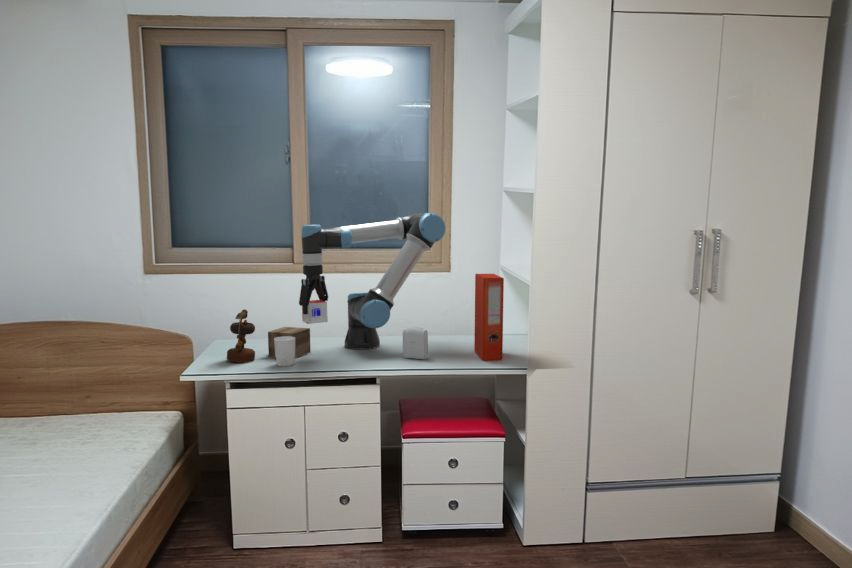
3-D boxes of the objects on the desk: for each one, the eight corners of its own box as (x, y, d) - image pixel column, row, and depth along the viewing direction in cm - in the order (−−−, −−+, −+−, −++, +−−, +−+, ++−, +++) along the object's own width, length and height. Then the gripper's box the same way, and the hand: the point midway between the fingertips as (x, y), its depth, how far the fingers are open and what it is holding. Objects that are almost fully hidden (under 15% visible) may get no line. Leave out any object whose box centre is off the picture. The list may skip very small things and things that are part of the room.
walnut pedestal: (310, 352, 262) (309, 328, 261) (294, 358, 251) (293, 333, 250) (285, 350, 267) (284, 326, 265) (268, 356, 255) (267, 331, 254)
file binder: (493, 350, 263) (494, 273, 260) (503, 360, 246) (503, 277, 243) (474, 351, 262) (474, 273, 259) (482, 361, 245) (482, 278, 242)
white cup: (276, 362, 246) (275, 336, 245) (297, 361, 247) (296, 336, 245) (273, 367, 238) (272, 340, 237) (295, 366, 239) (294, 340, 238)
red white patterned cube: (322, 319, 257) (321, 299, 256) (327, 322, 250) (326, 302, 249) (302, 321, 254) (301, 301, 253) (307, 324, 246) (306, 303, 246)
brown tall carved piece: (255, 363, 244) (254, 311, 242) (225, 365, 241) (223, 313, 239) (256, 354, 258) (254, 306, 256) (228, 356, 256) (226, 307, 254)
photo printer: (401, 358, 251) (400, 327, 250) (406, 355, 255) (405, 325, 254) (425, 360, 247) (424, 328, 246) (429, 358, 251) (429, 327, 250)
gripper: (319, 261, 261) (321, 314, 264) (287, 267, 239) (290, 324, 242) (335, 261, 259) (337, 315, 261) (305, 267, 237) (307, 325, 239)
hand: (314, 319), depth 252 cm, fingers closed on red white patterned cube, 11 cm apart
